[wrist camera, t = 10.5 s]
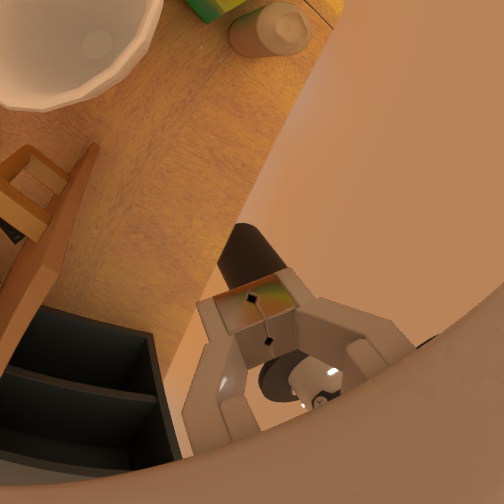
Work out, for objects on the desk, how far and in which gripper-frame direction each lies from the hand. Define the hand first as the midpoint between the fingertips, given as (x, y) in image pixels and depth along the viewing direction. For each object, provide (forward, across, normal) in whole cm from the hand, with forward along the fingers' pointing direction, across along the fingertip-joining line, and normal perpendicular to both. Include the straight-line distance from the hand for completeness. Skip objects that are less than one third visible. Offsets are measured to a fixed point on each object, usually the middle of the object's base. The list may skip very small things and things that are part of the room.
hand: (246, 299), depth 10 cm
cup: (+29, +4, -11) cm, 31 cm away
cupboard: (+29, +26, +27) cm, 47 cm away
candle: (+29, -13, -8) cm, 33 cm away
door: (+29, +19, +3) cm, 35 cm away
